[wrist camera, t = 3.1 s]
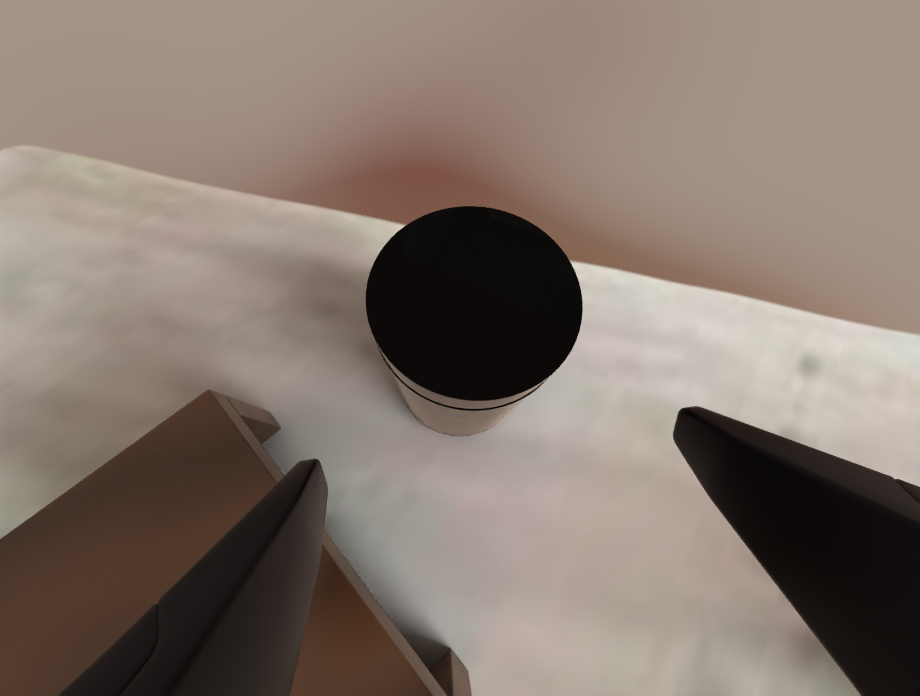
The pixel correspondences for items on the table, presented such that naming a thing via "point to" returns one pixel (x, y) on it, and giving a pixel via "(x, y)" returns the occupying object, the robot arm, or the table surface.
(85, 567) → the shelf
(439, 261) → the supplement container
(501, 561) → the table surface
